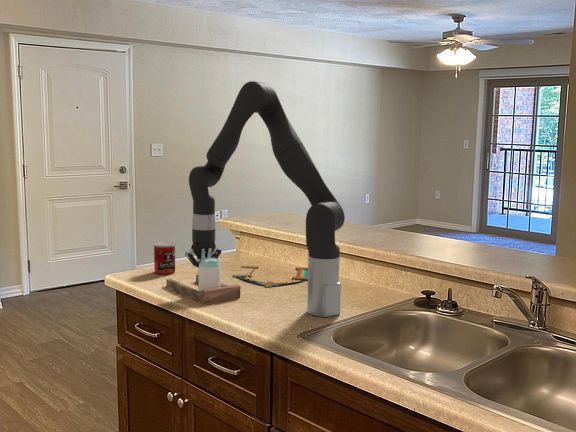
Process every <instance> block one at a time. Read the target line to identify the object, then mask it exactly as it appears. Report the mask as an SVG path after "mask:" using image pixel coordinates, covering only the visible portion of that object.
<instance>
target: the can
mask: <svg viewBox="0 0 576 432" xmlns="http://www.w3.org/2000/svg"><path fill="white" fill-rule="evenodd" d="M221 266H222V264H221V262H220V259H219V258H202V259H201V262H200V263H199V268H198V274H199V283H198V291H200V292H202V290H207V289H213V288H219V287H221V283H222V280H221V277H222V274H221V273H222V272H221V271H222V267H221Z"/></svg>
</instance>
